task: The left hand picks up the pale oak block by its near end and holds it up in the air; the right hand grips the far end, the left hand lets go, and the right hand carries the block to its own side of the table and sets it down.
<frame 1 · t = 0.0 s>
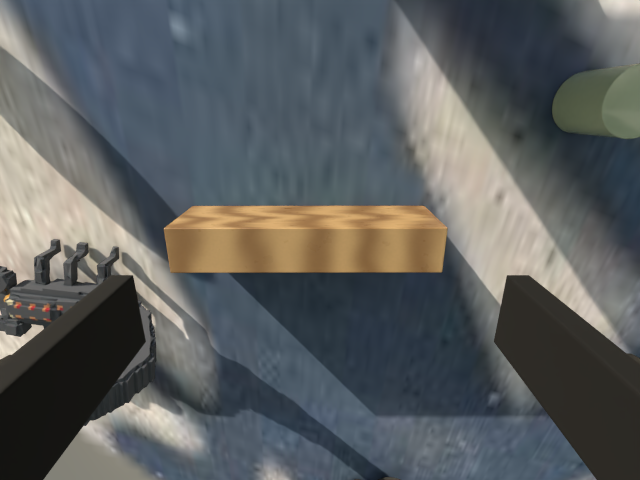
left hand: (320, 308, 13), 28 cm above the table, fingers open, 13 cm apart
toy: (80, 287, 44), on the table
oak block: (308, 224, 41), on the table
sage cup: (581, 102, 37), on the table
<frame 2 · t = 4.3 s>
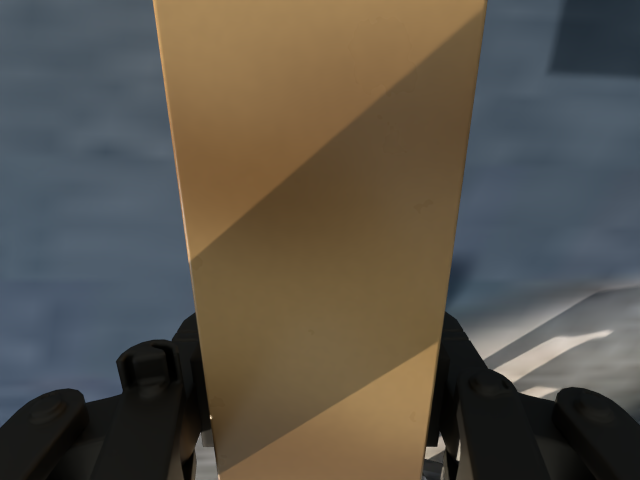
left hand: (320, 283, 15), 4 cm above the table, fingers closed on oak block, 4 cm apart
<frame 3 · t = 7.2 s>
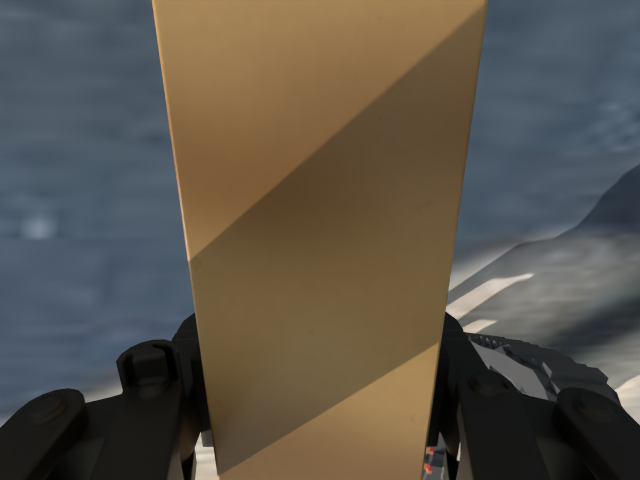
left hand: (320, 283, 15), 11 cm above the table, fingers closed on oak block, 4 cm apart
toy: (414, 405, 31), on the table
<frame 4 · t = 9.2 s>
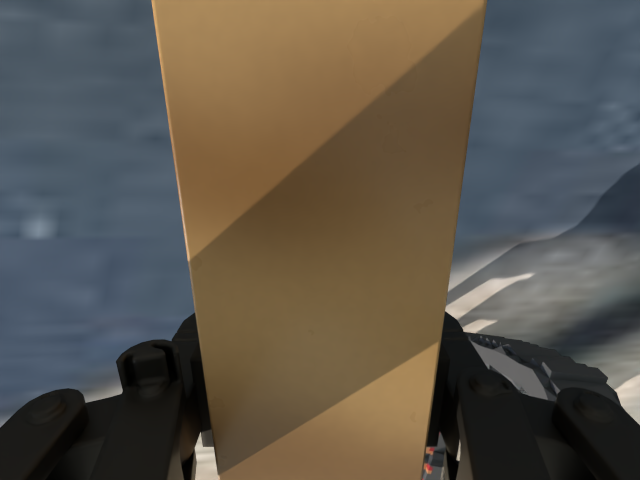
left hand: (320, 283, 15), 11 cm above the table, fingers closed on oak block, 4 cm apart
toy: (414, 405, 31), on the table
when the left hand's fingers open (11 cm above the table, at t = 10.1 s): oak block stays where it is, held by the right hand.
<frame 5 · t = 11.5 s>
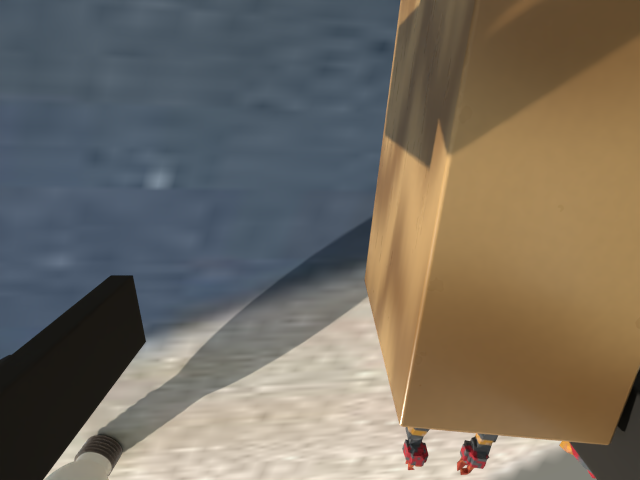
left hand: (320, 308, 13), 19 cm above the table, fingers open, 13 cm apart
light bulb: (107, 445, 41), on the table
toy: (458, 344, 36), on the table
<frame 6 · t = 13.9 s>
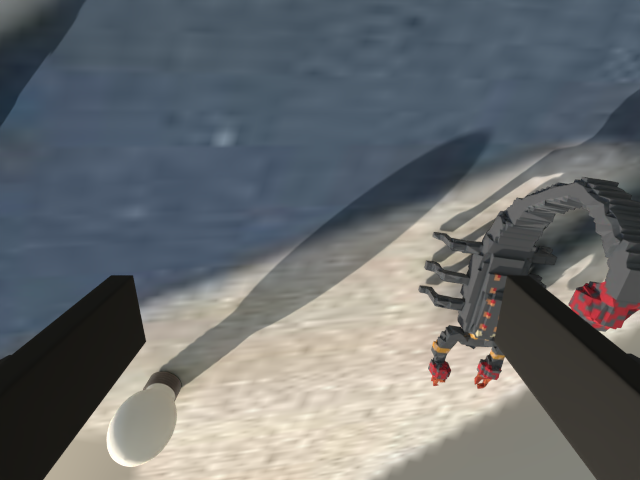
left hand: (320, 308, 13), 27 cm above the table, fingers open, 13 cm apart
light bulb: (167, 381, 47), on the table
toy: (473, 278, 42), on the table
when the right hand's fingers open (5 cm above the table, at t = 18.5 s): oak block moves 1 cm, on the table.
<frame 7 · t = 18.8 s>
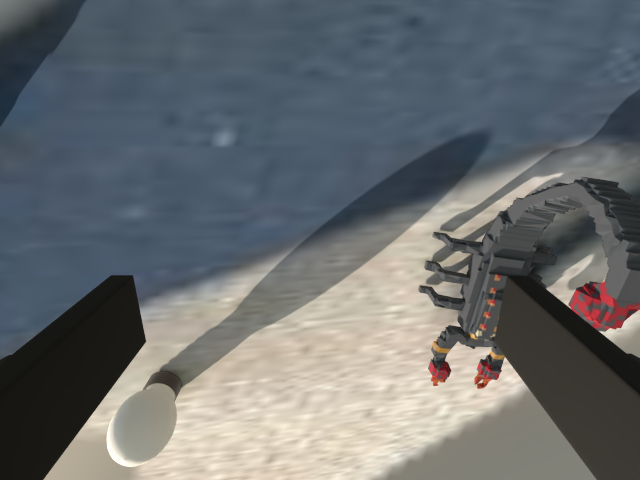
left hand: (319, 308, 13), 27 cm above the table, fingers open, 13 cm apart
light bulb: (167, 381, 47), on the table
toy: (473, 278, 42), on the table
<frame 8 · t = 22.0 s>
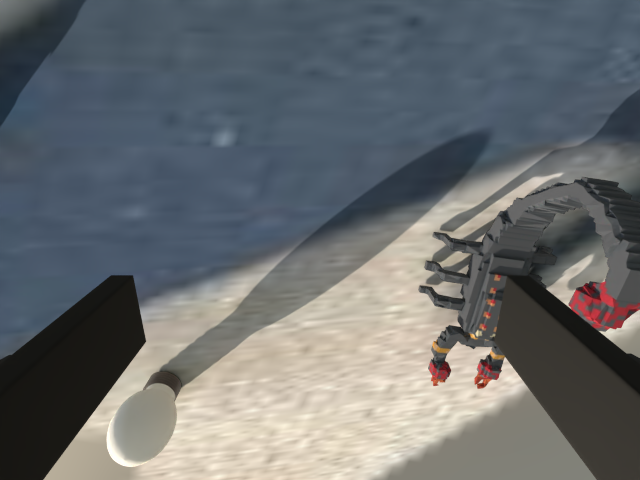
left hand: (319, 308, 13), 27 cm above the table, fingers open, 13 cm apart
light bulb: (167, 381, 47), on the table
toy: (473, 278, 42), on the table
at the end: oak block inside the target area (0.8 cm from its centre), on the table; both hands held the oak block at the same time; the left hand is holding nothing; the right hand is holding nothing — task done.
